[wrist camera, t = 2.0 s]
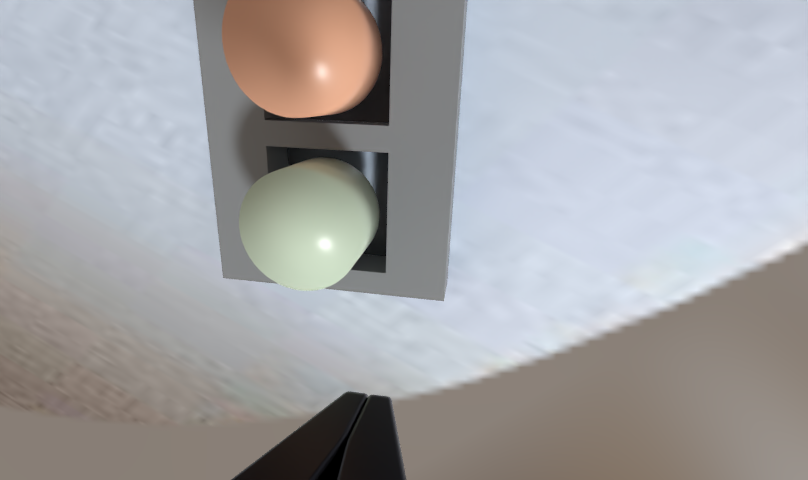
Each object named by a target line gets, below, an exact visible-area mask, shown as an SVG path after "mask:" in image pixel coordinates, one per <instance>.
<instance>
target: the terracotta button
mask: <svg viewBox="0 0 808 480" xmlns="http://www.w3.org/2000/svg"><path fill="white" fill-rule="evenodd" d="M222 43H223V50H224V54H225V58H226V62H227V64H228V67H229V70H230V72H231V74H232V76H233V78H234V80H235V81H236V83H237V84H238V86H239V87H240V88H241V90H242V91H243V92H244V93H245V94H246V96H248V97H249V98H250V99H251V100H252V101H253V102H254V103H255V104H257V105H258V106H259V107H261V108H263V109H265V110H266V111H268V112H271V113H273V114H275V115H279V116H283V117H289V118H304V117H314V116H324V115H333V114H339V113H342V112H345V111H348V110H350V109H352V108H354V107H355V106H357V105H358V104H359V103H361V102H362V101H363V100H364V99H365V98H366V97H367V95H368V94H369V93H370V92H371V90H372V88H373V87H374V85H375V83H376V81H377V79H378V76H379V73H380V69H381V64H382V54H383V53H382V41H381V35H380V32H379V28H378V26H377V23H376V21H375V19H374V17H373V15H372V14H371V12H370V11H369V9H368V8H367V7H366V5H365V4H364V3H363V2H362V1H361V0H228V1H227V4H226V7H225V10H224V16H223V21H222Z"/></svg>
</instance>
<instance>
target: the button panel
mask: <svg viewBox="0 0 808 480" xmlns="http://www.w3.org/2000/svg"><path fill="white" fill-rule="evenodd" d="M193 1H194V11H195V20H196V29H197V39H198V48H199V57H200V67H201V76H202V85H203V94H204V104H205V113H206V122H207V132H208V141H209V150H210V159H211V169H212V178H213V187H214V197H215V206H216V215H217V225H218V234H219V243H220V252H221V262H222V271H223V278H229V279H238V280H248V281H257V282H267V283H276V282H274V281H273V280H271V279H270V278H268V277H267V276H266V275H264V274H263V273H262V272H261V271H260V270H259V269H258V268H257V267H256V265H255V264H254V263H253V262H252V260H251V259H250V257H249V256H248V254H247V252H246V250H245V248H244V245H243V243H242V239H241V236H240V230H239V214H240V209H241V204H242V202H243V199H244V197H245V195H246V194H247V192H248V190H249V189H250V188H251V187H252V185H253V184H254V183H255V182H256V181H258V180H259V179H260V178H262V177H263V176H265V175H267V174H269V173H271V172H273V171H276V170H279V169H282V168H285V167H288V149H287V147H292V148H310V149H328V150H346V151H364V152H382V153H388V198H387V243H386V256H378V255H368V254H362V255H361V256H360V258H359V259H358V260H357V262H356V263H355V264H354V265H353V267H352V268H351V269H350V271H349V272H348V273H347V274H346V275H345V276H344V277H343V278H342V279H341V280H340V281H338V282H337V283H335V284H333V285H331V286H329V287H326V288H324V289H334V290H343V291H353V292H362V293H372V294H381V295H391V296H400V297H410V298H419V299H429V300H438V301H444V297H445V291H446V286H447V278H448V264H449V250H450V236H451V222H452V208H453V194H454V180H455V166H456V152H457V138H458V124H459V110H460V96H461V82H462V68H463V54H464V40H465V26H466V12H467V0H392V19H391V64H390V109H389V123H383V122H361V121H338V120H316V119H294V118H286V117H283V116H279V115H275V114H273V113H271V112H268V111H266V110H265V109H263V108H261V107H259V106H258V105H257V104H255V103H254V102H253V101H252V100H251V99H250V98H249V97H248V96H246V94H245V93H244V92H243V91H242V90H241V88H240V87H239V86H238V84H237V83H236V81H235V80H234V78H233V76H232V74H231V72H230V70H229V67H228V64H227V62H226V58H225V54H224V50H223V43H222V21H223V16H224V10H225V7H226V4H227V1H228V0H193ZM276 284H278V283H276Z"/></svg>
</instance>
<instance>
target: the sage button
mask: <svg viewBox="0 0 808 480" xmlns="http://www.w3.org/2000/svg"><path fill="white" fill-rule="evenodd" d="M379 219H380V209H379V203H378V199H377V196H376V193H375V191H374V189H373V187H372V185H371V184H370V182H369V181H368V180H367V178H366V177H365V176H364V175H363V174H362V173H361V172H360V171H359V170H358V169H356V168H355V167H354V166H352V165H350V164H348V163H347V162H344V161H342V160H339V159H335V158H329V157H317V158H311V159H308V160H305V161H302V162H299V163H296V164H294V165H291V166H288V167H285V168H282V169H279V170H276V171H273V172H271V173H269V174H267V175H265V176H263V177H262V178H260V179H259V180H258V181H256V182H255V183H254V184H253V185H252V187H251V188H250V189H249V190H248V192H247V194H246V195H245V197H244V199H243V202H242V204H241V209H240V214H239V230H240V236H241V239H242V243H243V245H244V248H245V250H246V252H247V254H248V256H249V257H250V259H251V260H252V262H253V263H254V264H255V265H256V267H257V268H258V269H259V270H260V271H261V272H262V273H263V274H264V275H266V276H267V277H268V278H270V279H271V280H273V281H274V282H276V283H278V284H280V285H282V286H285V287H288V288H291V289H295V290H301V291H313V290H320V289H324V288H326V287H329V286H331V285H333V284H335V283H337V282H338V281H340V280H341V279H342V278H343V277H344V276H345V275H346V274H347V273H348V272H349V271H350V269H351V268H352V267H353V265H354V264H355V263H356V262H357V260H358V259H359V258H360V256H361V255H362V254H363V252H364V251H365V250H366V248H367V247H368V246H369V244H370V243H371V242H372V240H373V238H374V237H375V235H376V232H377V229H378V225H379Z"/></svg>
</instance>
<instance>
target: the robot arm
mask: <svg viewBox="0 0 808 480" xmlns="http://www.w3.org/2000/svg"><path fill="white" fill-rule="evenodd" d="M232 480H406V476H405V470H404V464H403V459H402V454H401V448H400V443H399V438H398V432H397V427H396V421H395V416H394V411H393V405H392V400H391V398H390V397H387V396H379V395H370V396H369V397H368V395H367V394H365V393H358V392H346V393H344V394H343V395H341V396H340V397H339V398H337V399H336V400H335V401H334V402H332V403H331V404H330V405H328V406H327V407H326V408H324V409H323V410H322V411H320V412H319V413H318V414H317V415H315V416H314V417H313V418H311V419H310V420H309V421H307V422H306V423H305V424H303V425H302V426H301V427H300V428H298V429H297V430H296V431H294V432H293V433H292V434H290V435H289V436H288V437H286V438H285V439H284V440H283V441H281V442H280V443H279V444H277V445H276V446H275V447H273V448H272V449H271V450H269V451H268V452H267V453H265V454H264V455H263V456H262V457H260V458H259V459H258V460H256V461H255V462H254V463H252V464H251V465H250V466H248V467H247V468H246V469H245V470H243V471H242V472H241V473H239V474H238V475H237V476H235V477H234V478H233V479H232Z"/></svg>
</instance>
